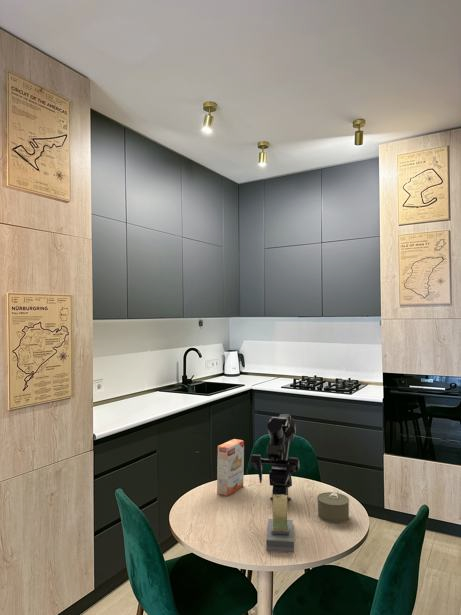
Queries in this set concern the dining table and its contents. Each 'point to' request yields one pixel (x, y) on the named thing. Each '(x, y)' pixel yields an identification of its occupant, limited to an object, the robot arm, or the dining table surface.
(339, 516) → the can
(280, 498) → the lever
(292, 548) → the rail
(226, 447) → the cracker box
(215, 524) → the dining table surface
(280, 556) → the dining table surface
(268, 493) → the dining table surface
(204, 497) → the dining table surface
